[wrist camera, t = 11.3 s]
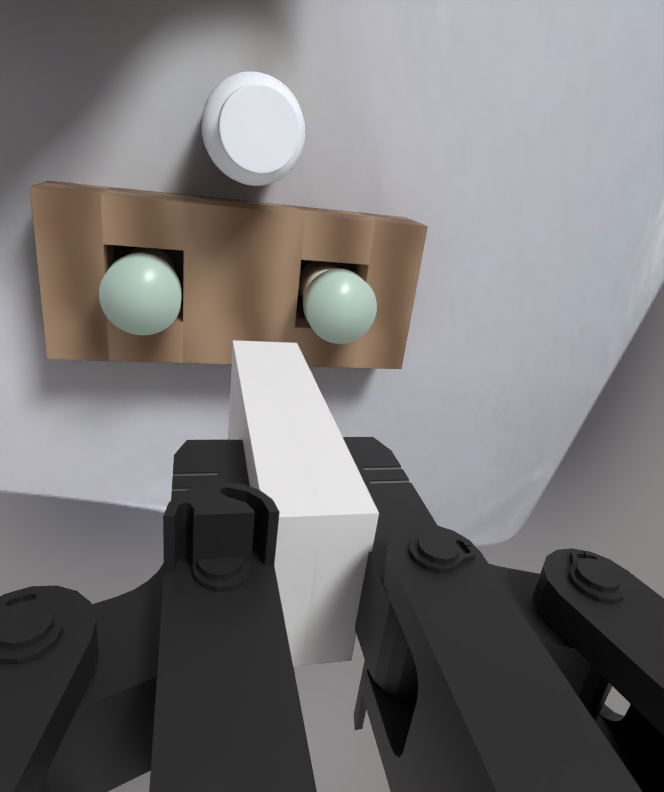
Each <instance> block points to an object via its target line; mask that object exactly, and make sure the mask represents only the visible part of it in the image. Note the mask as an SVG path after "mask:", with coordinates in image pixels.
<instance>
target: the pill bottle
mask: <svg viewBox="0 0 664 792" xmlns="http://www.w3.org/2000/svg"><path fill="white" fill-rule="evenodd" d="M201 133H202V137H203V142H204V145H205V148H206V150H207V152H208V154H209V156H210V157H211V159H212V161H213V162H214V163H215V165H216V166H217V167H218V168H219V169H220V170H221V171H222V172H223V173H224V174H225V175H227V176H228V177H230V178H231V179H233V180H235V181H237V182H240V183H243V184H246V185H253V186H261V185H267V184H271V183H273V182H276V181H278V180H280V179H281V178H283V177H284V176H286V175H287V174H288V173H289V172H290V171H291V170H292V169H293V167H294V166H295V165H296V163H297V162H298V160H299V158H300V156H301V153H302V150H303V146H304V141H305V124H304V118H303V114H302V111H301V108H300V106H299V104H298V102H297V100H296V98H295V97H294V95H293V94H292V93H291V91H290V90H289V89H288V88H287V87H286V86H285V85H284V84H283V83H281V82H280V81H279V80H277V79H275V78H274V77H272V76H270V75H267V74H264V73H260V72H251V71H250V72H241V73H237V74H234V75H232V76H230V77H228V78H226V79H225V80H223V81H222V82H221V83H219V84H218V85H217V86H216V87H215V89H214V90H213V91H212V93H211V94H210V96H209V98H208V99H207V102H206V104H205V107H204V111H203V115H202V122H201Z"/></svg>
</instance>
